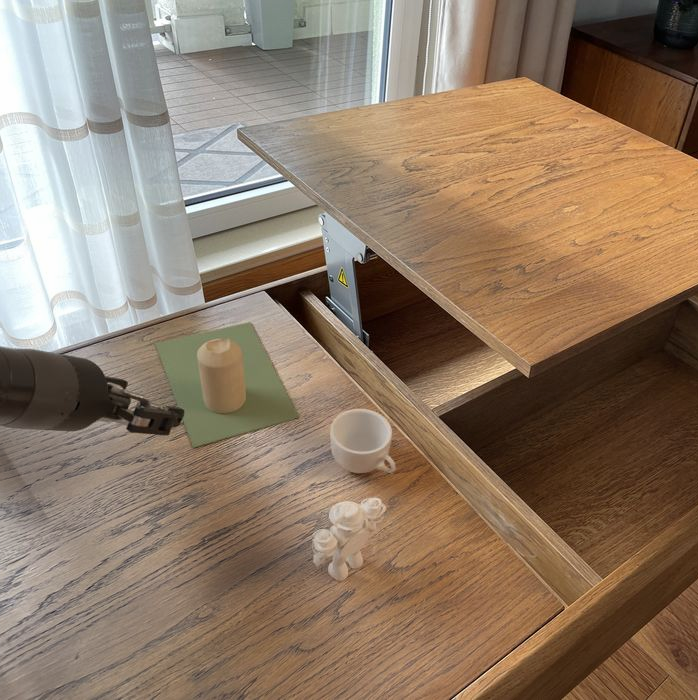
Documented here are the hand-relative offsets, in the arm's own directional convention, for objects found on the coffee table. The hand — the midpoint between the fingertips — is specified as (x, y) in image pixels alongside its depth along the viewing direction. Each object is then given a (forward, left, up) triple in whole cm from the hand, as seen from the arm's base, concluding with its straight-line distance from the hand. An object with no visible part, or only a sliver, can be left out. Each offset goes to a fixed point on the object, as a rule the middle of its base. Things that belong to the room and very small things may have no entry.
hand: (151, 403), depth 84 cm
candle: (+10, +6, -9) cm, 14 cm away
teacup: (+23, -12, -9) cm, 27 cm away
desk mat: (+11, +10, -9) cm, 17 cm away
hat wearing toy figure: (+15, -25, -9) cm, 30 cm away
